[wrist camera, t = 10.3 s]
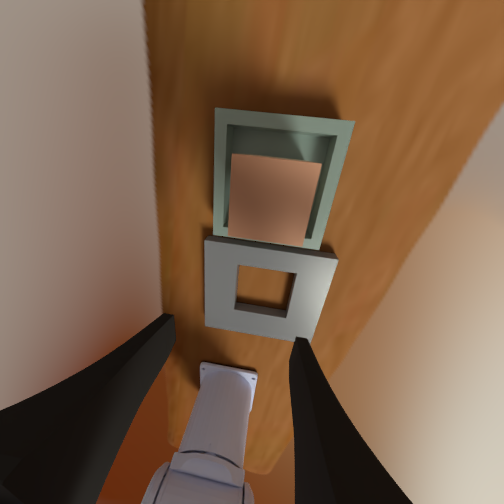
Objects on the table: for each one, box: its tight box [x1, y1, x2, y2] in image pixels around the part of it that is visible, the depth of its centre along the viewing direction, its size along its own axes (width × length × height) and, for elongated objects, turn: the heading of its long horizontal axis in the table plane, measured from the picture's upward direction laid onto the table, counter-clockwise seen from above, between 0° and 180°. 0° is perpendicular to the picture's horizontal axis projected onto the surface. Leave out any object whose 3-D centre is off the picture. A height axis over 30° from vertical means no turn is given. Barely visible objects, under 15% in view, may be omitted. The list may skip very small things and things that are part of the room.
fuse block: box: [228, 154, 322, 247], centre depth 13 cm, size 4×4×7 cm
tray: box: [213, 108, 355, 250], centre depth 15 cm, size 9×9×2 cm
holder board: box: [204, 235, 338, 343], centre depth 21 cm, size 11×12×1 cm
